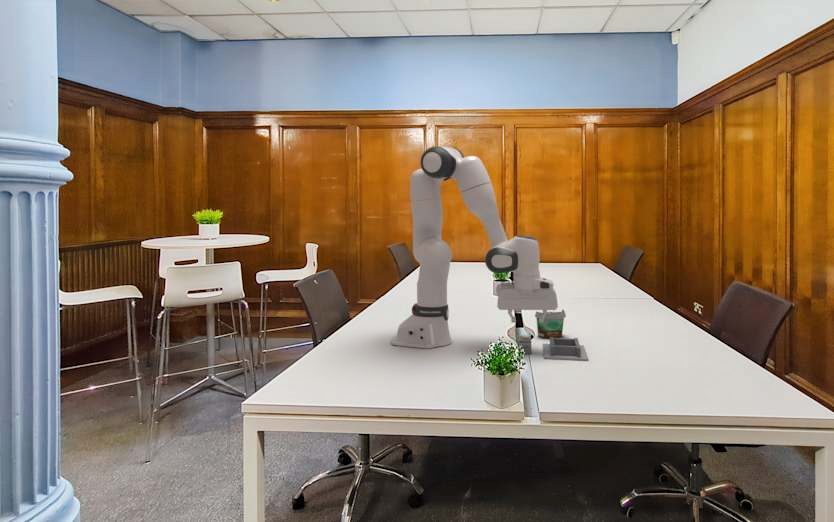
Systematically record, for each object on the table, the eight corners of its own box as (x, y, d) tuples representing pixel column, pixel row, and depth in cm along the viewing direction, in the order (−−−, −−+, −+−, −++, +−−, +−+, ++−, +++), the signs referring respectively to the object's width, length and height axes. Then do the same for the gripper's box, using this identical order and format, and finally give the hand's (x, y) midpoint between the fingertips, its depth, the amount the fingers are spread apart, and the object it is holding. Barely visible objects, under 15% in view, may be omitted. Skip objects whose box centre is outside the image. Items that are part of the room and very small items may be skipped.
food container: (542, 341, 193) (542, 314, 192) (534, 337, 199) (534, 311, 198) (571, 338, 196) (572, 312, 195) (563, 334, 202) (563, 309, 201)
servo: (519, 354, 176) (519, 340, 176) (519, 347, 185) (519, 333, 185) (531, 355, 176) (531, 340, 175) (530, 348, 185) (531, 334, 184)
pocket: (543, 358, 171) (544, 348, 171) (542, 345, 187) (543, 335, 187) (588, 361, 168) (588, 350, 168) (583, 347, 184) (583, 337, 184)
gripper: (495, 284, 177) (496, 324, 178) (557, 283, 172) (558, 324, 174) (496, 281, 183) (497, 320, 185) (556, 280, 178) (557, 320, 180)
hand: (527, 322), depth 179 cm, fingers open, 8 cm apart
